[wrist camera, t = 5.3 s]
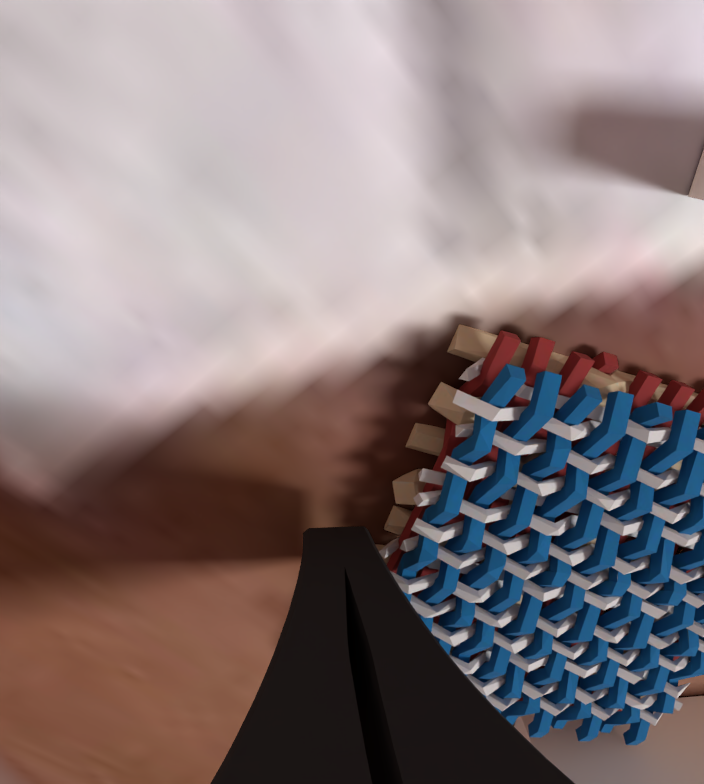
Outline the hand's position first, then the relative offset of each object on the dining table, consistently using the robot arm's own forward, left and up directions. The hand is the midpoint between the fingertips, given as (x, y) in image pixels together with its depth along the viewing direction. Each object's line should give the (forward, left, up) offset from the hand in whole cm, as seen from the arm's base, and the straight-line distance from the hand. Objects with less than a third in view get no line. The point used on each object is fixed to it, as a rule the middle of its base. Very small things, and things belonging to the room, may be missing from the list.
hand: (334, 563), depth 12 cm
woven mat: (-1, -6, -2) cm, 6 cm away
